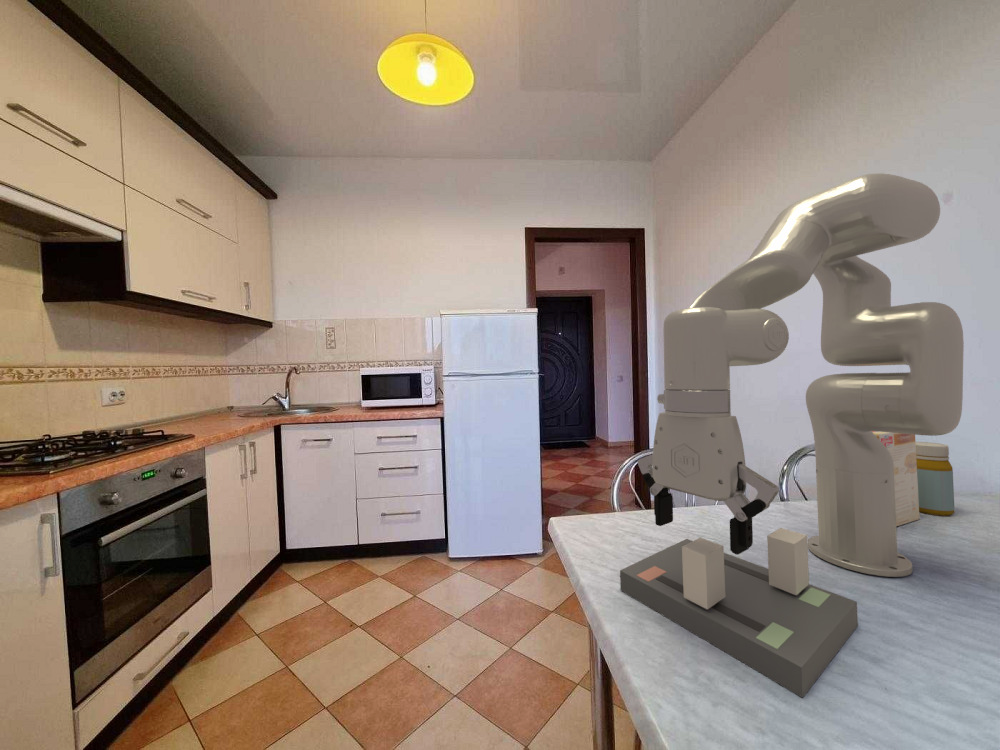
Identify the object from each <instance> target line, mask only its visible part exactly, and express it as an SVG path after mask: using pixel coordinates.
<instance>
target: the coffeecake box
mask: <svg viewBox="0 0 1000 750" xmlns="http://www.w3.org/2000/svg"><path fill="white" fill-rule="evenodd" d="M872 432H873V434H874V435H875V436H876V437H877V438H878V439H879V440H880V441H881V442H882V443H883V444H884V445H885V447H886V448H887V449H888V451H889V452H890V454H891V456H892V459H893V464H894V488H895V511H896V527H900V526H902V525H903V526H904V525H905V524H909V523H912V522H915V521H918V520H920V519H921V517H920V512H919V499H918V479H917V461H916V442H917V441H916V435H913V434H902V433H890V432H879V431H878V432H874V431H872Z"/></svg>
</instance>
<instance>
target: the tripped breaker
mask: <svg viewBox="0 0 1000 750" xmlns="http://www.w3.org/2000/svg"><path fill="white" fill-rule="evenodd" d="M724 550H725V548H724V545H723V544H720V543H716V542H714V541H711V540H708V539H705V538H703V537H698V538H696V539H694V540H692V542H690V543H688V544H686V545H684V546H682V563H683V590H684V598H686V599H688V600H690V601H692V602H694V603H696V604H698V605H700V606H701V607H703V608H705V609H707V610H708V609H709V608H710V607H712V606H713V605H715V604H716V603H717V602H719V601H720V600H722V599H723V598H725V573H724V553H725V552H724Z"/></svg>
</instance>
